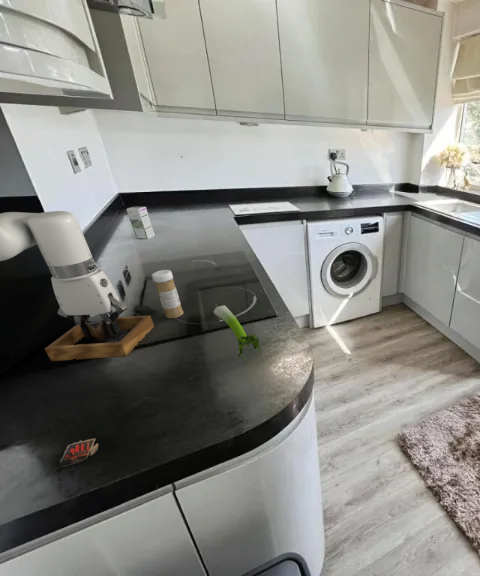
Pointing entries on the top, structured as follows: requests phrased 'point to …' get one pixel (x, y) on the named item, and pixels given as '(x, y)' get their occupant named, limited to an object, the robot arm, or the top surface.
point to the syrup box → (140, 222)
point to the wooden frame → (69, 351)
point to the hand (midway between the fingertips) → (103, 335)
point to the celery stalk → (237, 329)
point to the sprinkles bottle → (167, 293)
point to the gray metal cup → (98, 330)
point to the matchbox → (78, 452)
